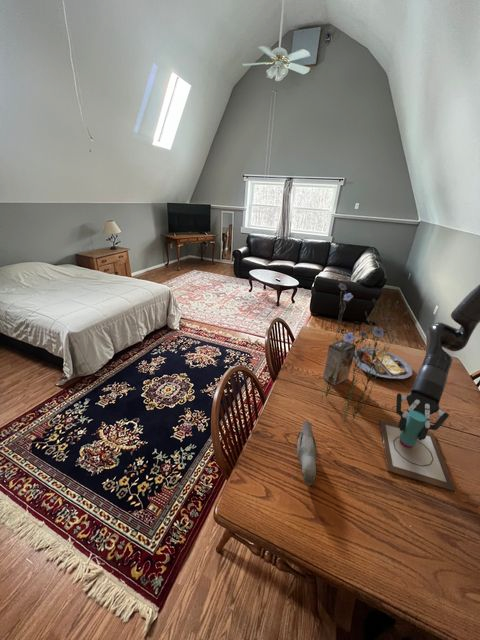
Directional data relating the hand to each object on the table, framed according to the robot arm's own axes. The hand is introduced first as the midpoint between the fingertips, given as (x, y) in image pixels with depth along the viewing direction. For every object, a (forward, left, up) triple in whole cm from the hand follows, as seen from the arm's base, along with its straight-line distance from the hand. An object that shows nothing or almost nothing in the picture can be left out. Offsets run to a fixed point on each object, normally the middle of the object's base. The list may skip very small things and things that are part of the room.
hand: (410, 434), depth 79 cm
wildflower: (+19, -10, -6) cm, 22 cm away
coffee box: (+21, -29, -6) cm, 36 cm away
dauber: (-1, -2, -5) cm, 5 cm away
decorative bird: (+28, +15, -6) cm, 32 cm away
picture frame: (-2, 0, -6) cm, 6 cm away
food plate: (+2, -47, -6) cm, 47 cm away
